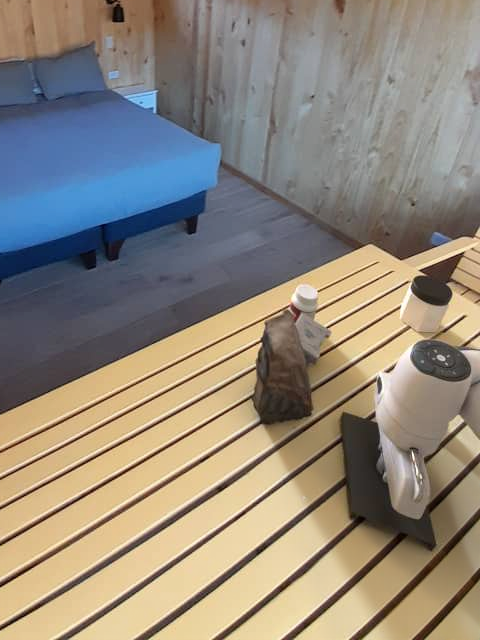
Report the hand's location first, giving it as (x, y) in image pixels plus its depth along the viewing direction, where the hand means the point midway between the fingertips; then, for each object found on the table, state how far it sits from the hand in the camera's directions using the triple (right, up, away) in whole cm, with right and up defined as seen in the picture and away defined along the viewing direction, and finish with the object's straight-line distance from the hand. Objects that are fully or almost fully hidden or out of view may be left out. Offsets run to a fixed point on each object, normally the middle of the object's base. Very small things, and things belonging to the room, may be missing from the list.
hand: (385, 466), depth 73 cm
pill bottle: (-1, +13, +33) cm, 35 cm away
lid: (0, -3, +1) cm, 3 cm away
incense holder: (-6, +7, +23) cm, 25 cm away
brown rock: (-14, +3, +14) cm, 20 cm away
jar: (+30, +13, +33) cm, 47 cm away
